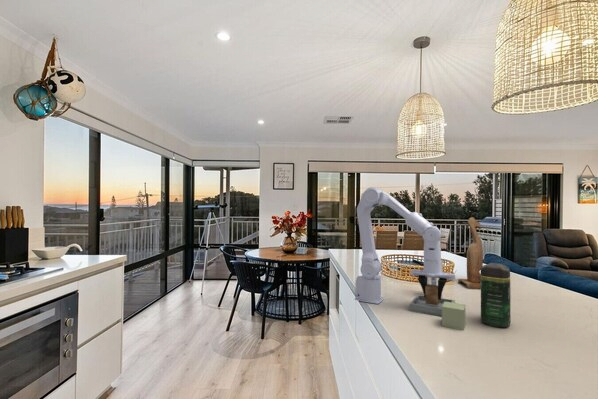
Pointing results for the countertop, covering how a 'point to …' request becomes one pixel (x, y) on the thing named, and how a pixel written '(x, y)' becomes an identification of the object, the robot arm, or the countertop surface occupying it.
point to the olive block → (453, 315)
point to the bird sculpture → (474, 258)
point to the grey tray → (427, 306)
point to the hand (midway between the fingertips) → (432, 297)
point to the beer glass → (434, 280)
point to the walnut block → (431, 294)
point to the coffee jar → (495, 295)
